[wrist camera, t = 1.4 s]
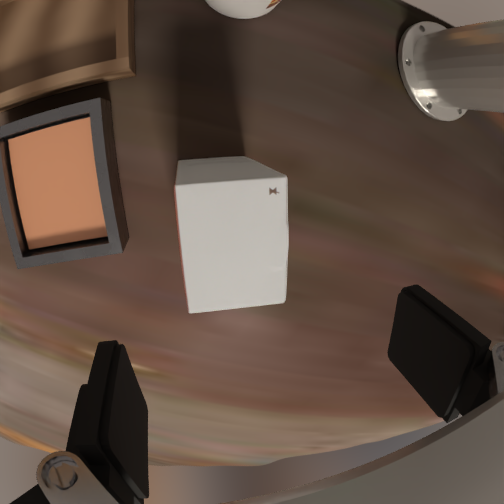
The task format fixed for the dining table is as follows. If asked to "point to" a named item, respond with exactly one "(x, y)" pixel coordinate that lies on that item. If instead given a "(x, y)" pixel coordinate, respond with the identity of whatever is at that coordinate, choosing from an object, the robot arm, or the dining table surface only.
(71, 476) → the robot arm
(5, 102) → the walnut trough
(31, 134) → the spring pad
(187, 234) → the small box
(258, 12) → the milk bottle
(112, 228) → the frame
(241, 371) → the dining table surface
